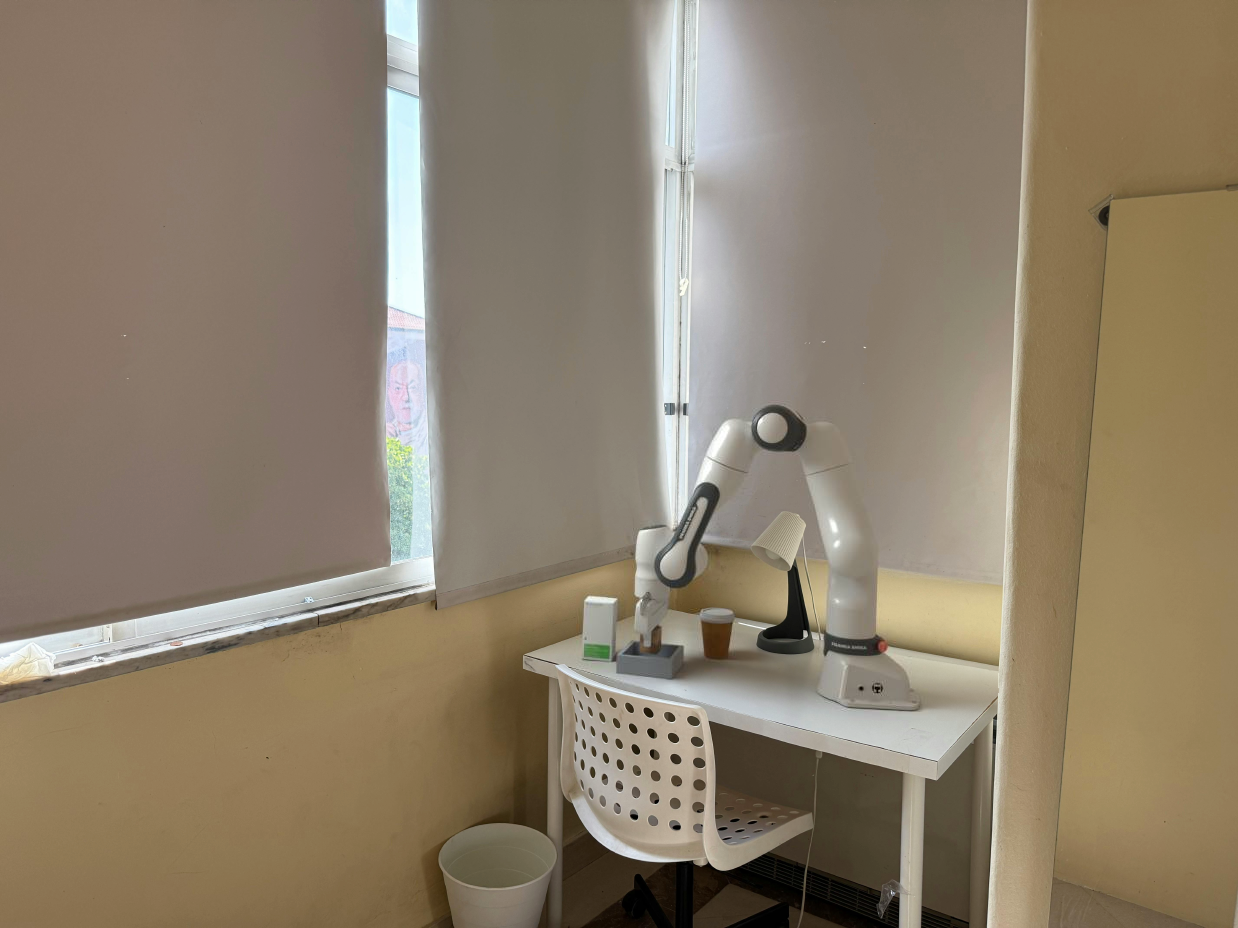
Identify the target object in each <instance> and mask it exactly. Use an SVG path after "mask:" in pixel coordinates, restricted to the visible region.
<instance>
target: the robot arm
mask: <svg viewBox="0 0 1238 928" xmlns="http://www.w3.org/2000/svg"><path fill="white" fill-rule="evenodd" d="M764 450H766V451H768V452H774V453H784V452H788V453H789V452H792V453H794V454H796V455H797V456H798V458H799V460H800V463H801V465H802V469H803V470H802V471H803V473H804V478H805V479H806V483H807V486H808V490H809V493H810V496H811V499H812V503H813V506H814V509H815V514H816V518H817V519H816V520H817V522H818V527H819V531H820V535H821V538H822V539H821V540H822V543H823V547H824V551H825V554H826V555H825V556H826V558H827V562H828V577H827V591H826V610H825V611H826V612H825V615H826V616H825V629H824V631H823V636H822V653H823V662H822V668H821V672H820V677H819V681H818V684H817V686H816V692H817V693H818V694H819V695H820V696H822V697H825V698H826V699H829V700H831V701H834V702H837V703H838V704H840V705H842V706H843V707H847V708H860V709H861V708H862V709H876V710H877V709H880V710H897V711H898V710H902V711H915V710H918V709H919V707H920V706H921V699H920V698H921V697H920V695H919V694H918V692H917V691H916V690H915V689H913V688H911V685H910V684H911V683H910V679H909V676H908V673H907V672H906V670H905V669H904V667H902V666H901V665H900V664H899V663H898V662H897V661H896V660H894V658H892V657H891V656H889V655H888V654H887V653H886V651H888V649H889V647H888V644H887V642H886V641H885V639H884V638H883V635H880V636H879V635H878V634H877V633H876V631H877V605H878V576H879V575H878V572H879V571H878V570H879V542H878V539H877V536H876V534H875V533H874V532H873V528H872V525H871V520H870V516H869V514H868V510H867V507H866V503H865V499H864V496H863V492H862V489H861V485H860V483H859V479H858V476H857V473H856V468H855V466H854V462H853V460H852V457H851V454H850V450H849V449H848V445H847V444H846V442H845V439H844V437H843V435H842V433H841V432H840V430H839V428H838V426H836V424H835V423H832V422H828V421H815V422H813V423H807V422H805V421H804V419H803V417H802V416H801V414H800V413H799V412H798V411H796V410H795V409H794V408H792V407H790V406H788V405H786V404H769V405H766V406H764V407H762V408H761V409H759V410H758V411H757V412H756V414H754V417H753V418H752V421H747V420H744V419H740V418H730V419H726V420H725V421H724V422H722V424H721V425H720V427H719V429H718V430H717V432H716V433H715V435H714V437H713V439H712V440H711V443H710V444H709V447H708V449H707V451H706V453H705V455H704V459H702V463H701V466H700V468H699V471H698V475H697V478H696V481H695V485H694V487H693V491H692V493H691V496H690V499H689V502H688V504H687V506H686V509H685V510H684V513H683V515H682V517H681V519H680V522H679V523H678V525H677V528H676V530H673V529H672V528H670V527H669V525H667V524H655V525H649V526H645V527H643V528H641V529H640V530H639V531H638V534H637V537H636V545H635V556H634V557H635V563H636V570H635V575H634V596H635V597H637V598H639V600H638V602H637V603H636V605H635V613H634V628H633V629H634V632H635V633H636V634H638V635H640V634H643V638H644V646H645V647H650V646H651V645H652V639H651V633H652V630H653V629H654V628H655V627H656V626H661V625H660V624H661V622H662V621H663V620H664V619H665V618H666V617H667V614H668V610H669V600H670V592H671V591H672V589H682V588H685V587H687V586H688V585H689V584H690V583H691V582H692V581H693V580H695V579H696V578H697V577H699V576H700V575H702V573H703V572H704V571H705V570H706V569H707V567H708V564H709V554H708V551H707V549H706V547H705V546H704V545H703V544H702V543H701V542H702V540H703V537H704V536H705V533H706V531H707V530H708V527H709V525H710V522H711V520H712V519H713V517H715V515H716V513H717V512H718V511H719V510H720V509H721V508H723V507H724V506H725V505H726V504H727V503H728V502H729V501H731V500H732V499H733V498H734V497H735V496H736V495H737V493H738V492H739V491H740V489H741V487H742V485H743V484H744V482H745V480H746V478H747V476H748V473H749V471H750V468H751V466H752V464H753V461H754V459H755V458H756V456H757V455H758V453H760V452H761V451H764Z"/></svg>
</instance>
